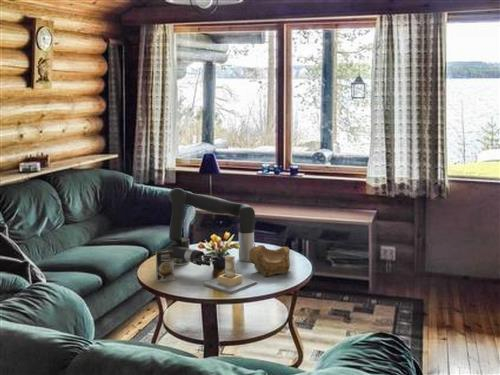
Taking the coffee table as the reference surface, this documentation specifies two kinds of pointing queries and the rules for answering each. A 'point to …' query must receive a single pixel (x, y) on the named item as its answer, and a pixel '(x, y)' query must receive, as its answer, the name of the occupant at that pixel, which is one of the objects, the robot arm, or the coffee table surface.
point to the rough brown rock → (270, 260)
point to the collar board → (230, 283)
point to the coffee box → (164, 265)
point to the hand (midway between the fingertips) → (215, 262)
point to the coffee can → (185, 245)
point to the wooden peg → (230, 266)
